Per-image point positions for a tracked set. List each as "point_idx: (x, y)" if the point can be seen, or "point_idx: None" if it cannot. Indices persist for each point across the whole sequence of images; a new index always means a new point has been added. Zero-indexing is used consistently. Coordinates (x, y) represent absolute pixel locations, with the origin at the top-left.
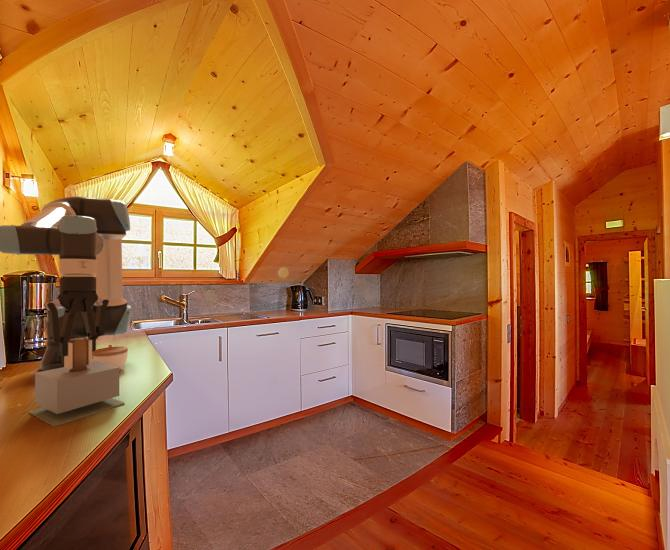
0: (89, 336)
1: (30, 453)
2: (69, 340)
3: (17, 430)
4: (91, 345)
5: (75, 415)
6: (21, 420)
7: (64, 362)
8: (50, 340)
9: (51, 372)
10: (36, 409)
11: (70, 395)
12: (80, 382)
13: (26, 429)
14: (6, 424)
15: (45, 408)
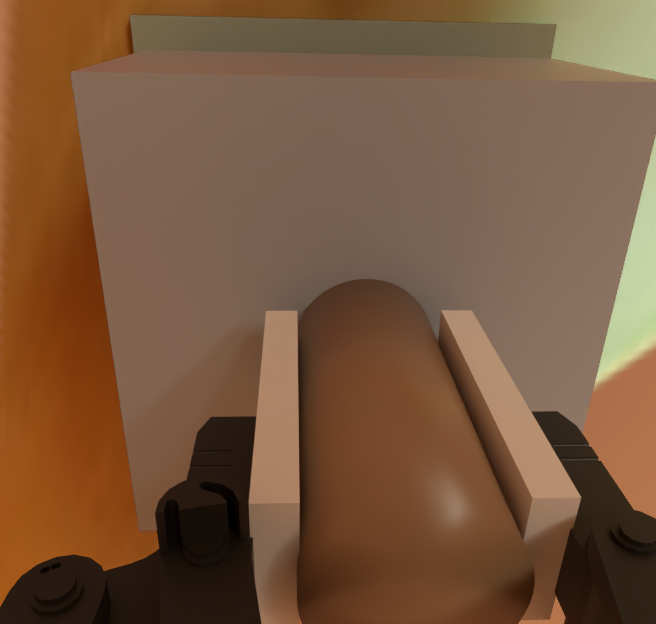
0: (583, 606)
1: (55, 539)
2: (300, 572)
3: (44, 274)
4: None
5: None
6: (78, 127)
7: (263, 344)
8: (26, 580)
9: (184, 219)
10: (169, 20)
11: None
12: None
13: (78, 298)
14: (8, 120)
15: None
